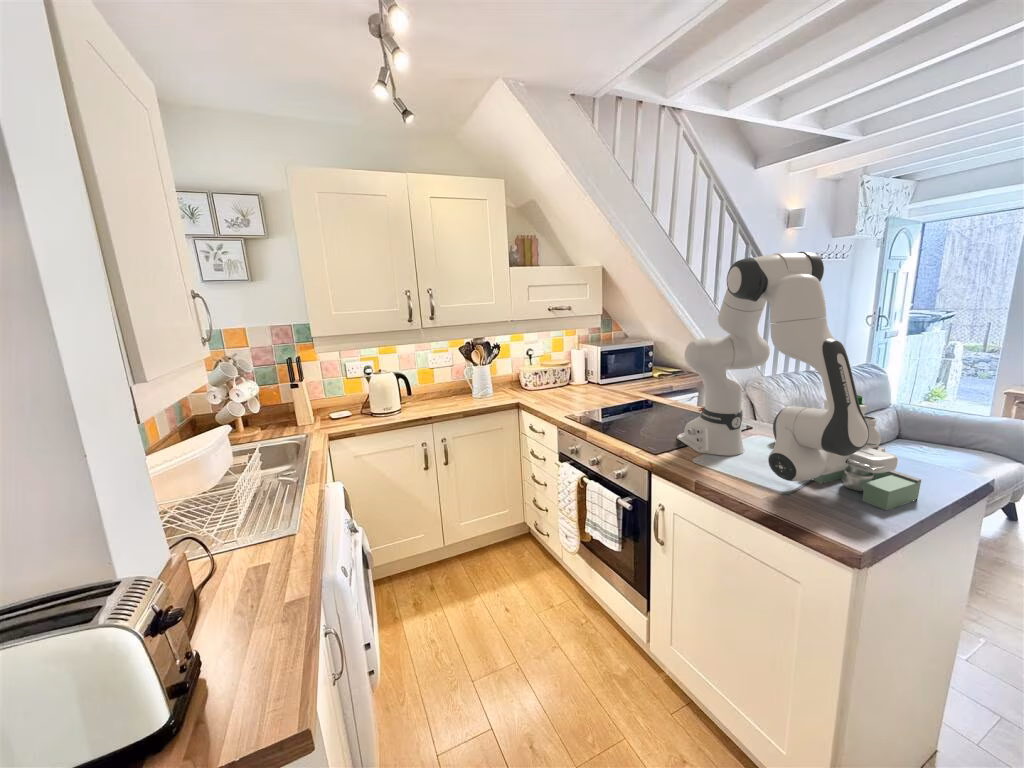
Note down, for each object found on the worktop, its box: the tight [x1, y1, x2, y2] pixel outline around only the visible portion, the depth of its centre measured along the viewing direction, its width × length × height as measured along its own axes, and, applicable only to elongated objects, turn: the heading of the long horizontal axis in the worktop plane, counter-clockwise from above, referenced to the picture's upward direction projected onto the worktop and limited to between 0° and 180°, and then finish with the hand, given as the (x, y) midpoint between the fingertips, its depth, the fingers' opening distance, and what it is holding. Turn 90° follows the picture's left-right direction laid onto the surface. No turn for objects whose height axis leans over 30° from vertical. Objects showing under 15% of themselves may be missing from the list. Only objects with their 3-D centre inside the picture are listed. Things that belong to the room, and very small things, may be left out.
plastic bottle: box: [841, 415, 882, 492], centre depth 103 cm, size 6×7×20 cm
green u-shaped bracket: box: [813, 469, 922, 511], centre depth 105 cm, size 20×12×6 cm, turn 18°
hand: (863, 445), depth 103 cm, fingers open, 6 cm apart
